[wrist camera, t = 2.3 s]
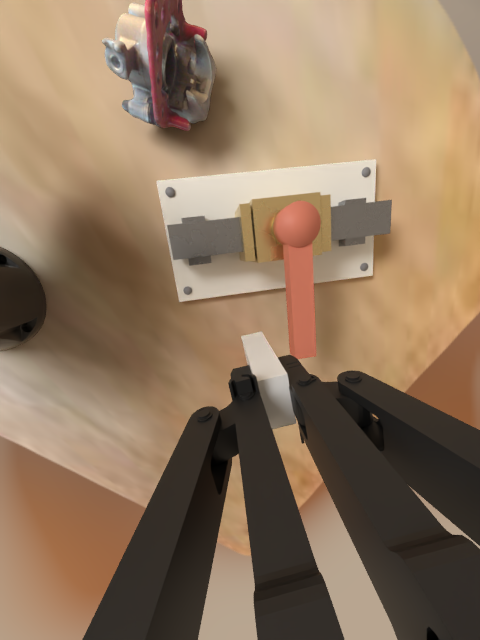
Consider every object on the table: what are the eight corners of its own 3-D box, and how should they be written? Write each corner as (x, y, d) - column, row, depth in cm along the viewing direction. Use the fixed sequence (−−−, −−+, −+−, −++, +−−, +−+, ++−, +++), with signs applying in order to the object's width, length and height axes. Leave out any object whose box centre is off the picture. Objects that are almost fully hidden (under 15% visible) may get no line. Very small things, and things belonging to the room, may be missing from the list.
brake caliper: (220, 151, 29) (125, 76, 20) (163, 152, 35) (67, 94, 25) (244, 35, 27) (147, -121, 17) (178, 56, 32) (77, -51, 22)
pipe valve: (181, 269, 36) (172, 274, 28) (172, 218, 34) (159, 207, 26) (362, 246, 38) (404, 244, 30) (363, 197, 36) (408, 180, 28)
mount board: (180, 300, 37) (179, 302, 36) (158, 183, 33) (155, 180, 31) (367, 274, 39) (373, 275, 38) (370, 162, 35) (377, 158, 34)
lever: (271, 207, 27) (277, 203, 24) (310, 203, 27) (320, 198, 25) (282, 353, 31) (288, 361, 29) (315, 348, 32) (324, 355, 29)
